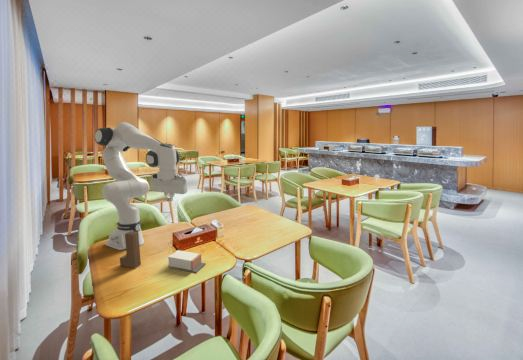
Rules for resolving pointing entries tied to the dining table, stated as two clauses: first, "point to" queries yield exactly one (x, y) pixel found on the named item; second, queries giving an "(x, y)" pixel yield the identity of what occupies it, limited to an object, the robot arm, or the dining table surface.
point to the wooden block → (131, 251)
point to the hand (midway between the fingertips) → (169, 200)
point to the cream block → (185, 260)
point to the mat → (191, 270)
